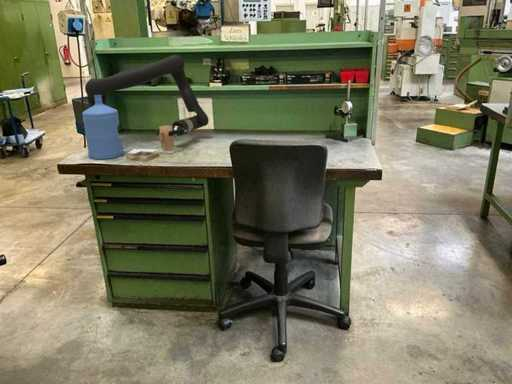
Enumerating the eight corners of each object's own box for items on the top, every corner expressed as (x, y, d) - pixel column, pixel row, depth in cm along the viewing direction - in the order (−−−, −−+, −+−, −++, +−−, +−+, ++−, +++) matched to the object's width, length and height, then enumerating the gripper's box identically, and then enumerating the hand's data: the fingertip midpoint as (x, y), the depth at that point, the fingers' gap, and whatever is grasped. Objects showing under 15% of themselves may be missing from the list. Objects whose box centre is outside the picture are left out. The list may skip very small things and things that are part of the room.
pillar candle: (156, 149, 198) (154, 128, 195) (166, 145, 205) (164, 124, 202) (166, 149, 196) (164, 129, 192) (176, 145, 203) (174, 125, 199)
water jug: (104, 161, 186) (95, 98, 177) (81, 157, 194) (71, 96, 184) (130, 153, 199) (123, 94, 189) (107, 150, 206) (99, 92, 197)
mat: (153, 152, 200) (153, 151, 199) (165, 147, 208) (165, 146, 208) (171, 154, 196) (170, 152, 196) (182, 149, 204) (182, 147, 204)
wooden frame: (127, 159, 189) (126, 156, 188) (141, 153, 198) (141, 150, 197) (145, 161, 185) (145, 158, 185) (159, 155, 194) (159, 152, 193)
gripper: (170, 118, 213) (150, 124, 198) (194, 120, 207) (175, 126, 193) (171, 133, 215) (151, 140, 201) (195, 135, 210) (176, 142, 195)
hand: (163, 133), depth 197 cm, fingers closed on pillar candle, 6 cm apart
